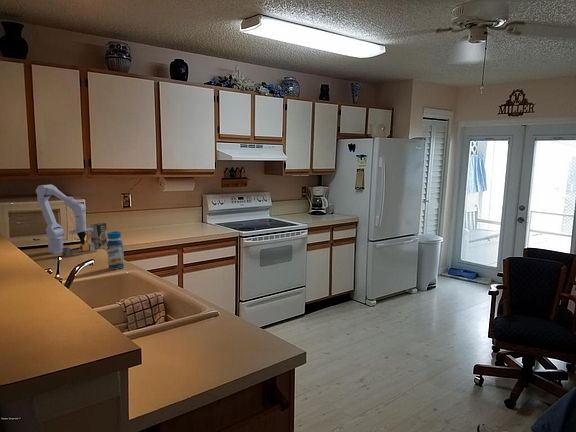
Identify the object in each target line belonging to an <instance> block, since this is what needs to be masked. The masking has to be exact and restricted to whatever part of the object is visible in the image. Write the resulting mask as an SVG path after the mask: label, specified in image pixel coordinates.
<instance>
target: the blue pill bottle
mask: <svg viewBox="0 0 576 432" xmlns="http://www.w3.org/2000/svg"><path fill="white" fill-rule="evenodd" d="M121 238H122V235H121V231H117V230H116V231H108V232H107V242H108V243H107V247H106V248H107V249H106V252H107V253H106V254H107V263H108V269H109V268H110V269H109V270H111V269H117V270H119V269H118V268H122V267H124V268H125V259H124V258H125V256H124V255H125V254H124V250H125V249H124V247H123V241H122V240H121ZM122 269H123V268H122Z"/></svg>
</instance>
